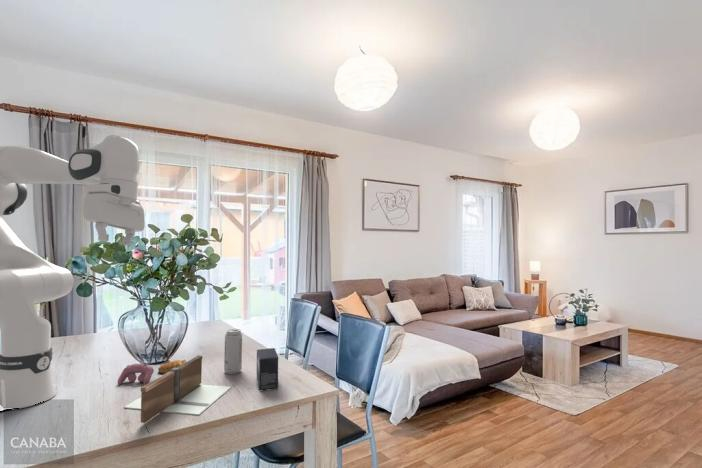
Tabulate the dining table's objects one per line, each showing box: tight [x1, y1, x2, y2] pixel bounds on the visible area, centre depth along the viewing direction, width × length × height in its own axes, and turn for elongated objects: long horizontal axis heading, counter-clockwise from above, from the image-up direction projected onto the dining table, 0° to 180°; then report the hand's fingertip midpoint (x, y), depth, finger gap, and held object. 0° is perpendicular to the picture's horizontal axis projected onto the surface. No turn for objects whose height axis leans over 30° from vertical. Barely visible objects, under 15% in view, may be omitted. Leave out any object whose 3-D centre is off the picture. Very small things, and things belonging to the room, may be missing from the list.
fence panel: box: [140, 371, 175, 424], centre depth 103 cm, size 2×12×9 cm, turn 171°
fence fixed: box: [171, 355, 203, 403], centre depth 116 cm, size 2×14×10 cm, turn 171°
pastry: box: [157, 359, 187, 374], centre depth 136 cm, size 9×7×4 cm
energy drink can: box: [223, 328, 243, 375], centre depth 136 cm, size 6×6×15 cm
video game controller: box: [117, 363, 155, 386], centre depth 126 cm, size 10×5×7 cm, turn 92°
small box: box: [256, 347, 279, 391], centre depth 126 cm, size 11×6×10 cm, turn 19°
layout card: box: [123, 383, 232, 416], centre depth 114 cm, size 23×19×1 cm
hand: (115, 243), depth 102 cm, fingers open, 8 cm apart
